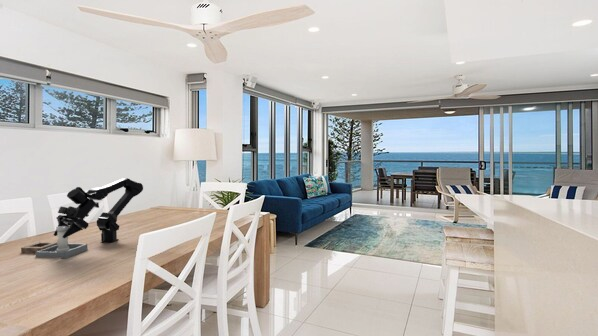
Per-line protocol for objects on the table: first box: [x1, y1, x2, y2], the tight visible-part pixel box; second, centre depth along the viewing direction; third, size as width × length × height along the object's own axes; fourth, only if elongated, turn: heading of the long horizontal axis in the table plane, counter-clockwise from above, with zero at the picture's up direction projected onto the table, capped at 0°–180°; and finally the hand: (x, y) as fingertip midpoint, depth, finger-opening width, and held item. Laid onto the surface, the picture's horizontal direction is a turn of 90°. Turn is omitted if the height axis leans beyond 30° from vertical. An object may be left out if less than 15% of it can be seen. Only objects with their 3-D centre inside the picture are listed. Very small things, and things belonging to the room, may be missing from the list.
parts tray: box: [35, 242, 88, 260], centre depth 151 cm, size 14×14×3 cm
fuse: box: [55, 225, 69, 252], centre depth 151 cm, size 5×5×12 cm
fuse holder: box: [20, 241, 58, 254], centre depth 155 cm, size 10×10×3 cm
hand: (58, 236), depth 149 cm, fingers open, 8 cm apart
